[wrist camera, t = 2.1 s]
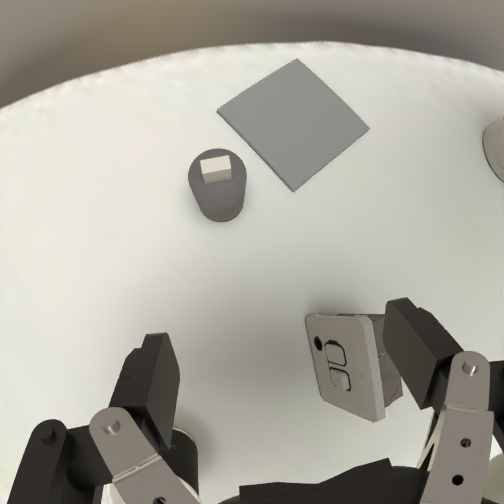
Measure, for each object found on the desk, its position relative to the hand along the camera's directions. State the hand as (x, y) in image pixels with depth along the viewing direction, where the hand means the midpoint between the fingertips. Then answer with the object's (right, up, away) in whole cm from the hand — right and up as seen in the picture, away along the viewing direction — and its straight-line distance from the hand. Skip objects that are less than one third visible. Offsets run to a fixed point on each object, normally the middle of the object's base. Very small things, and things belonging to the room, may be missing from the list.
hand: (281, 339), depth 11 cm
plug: (-4, +8, +21) cm, 23 cm away
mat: (+4, +17, +22) cm, 28 cm away
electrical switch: (+8, -7, +20) cm, 23 cm away
